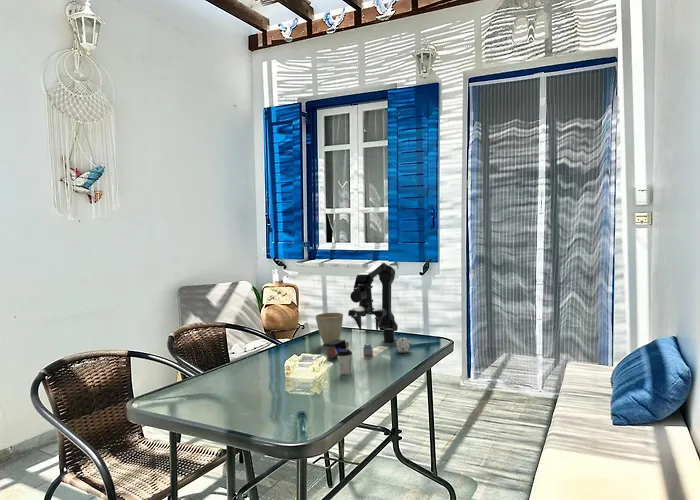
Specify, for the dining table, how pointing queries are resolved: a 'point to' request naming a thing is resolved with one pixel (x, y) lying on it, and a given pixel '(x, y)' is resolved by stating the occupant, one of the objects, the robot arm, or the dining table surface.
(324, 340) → the plant pot
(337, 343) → the figurine character
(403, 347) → the game die
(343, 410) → the dining table surface
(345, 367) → the coffee cup
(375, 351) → the board
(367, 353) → the pawn
